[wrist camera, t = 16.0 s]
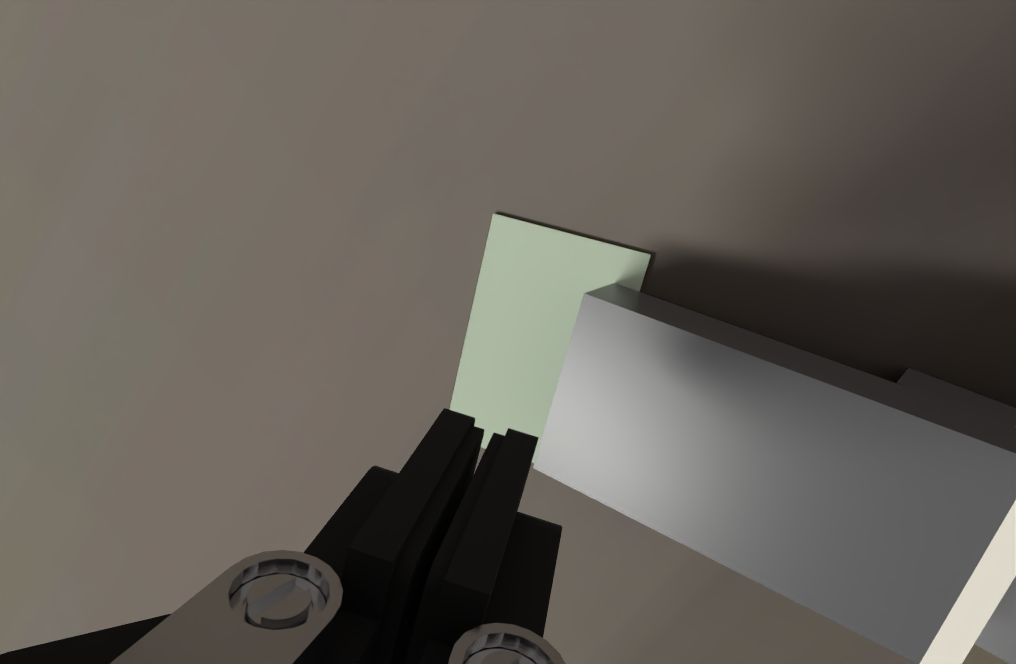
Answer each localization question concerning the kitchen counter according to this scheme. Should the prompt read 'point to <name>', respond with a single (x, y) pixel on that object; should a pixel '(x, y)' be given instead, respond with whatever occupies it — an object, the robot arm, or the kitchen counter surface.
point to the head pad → (530, 320)
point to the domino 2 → (1012, 623)
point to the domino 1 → (790, 470)
